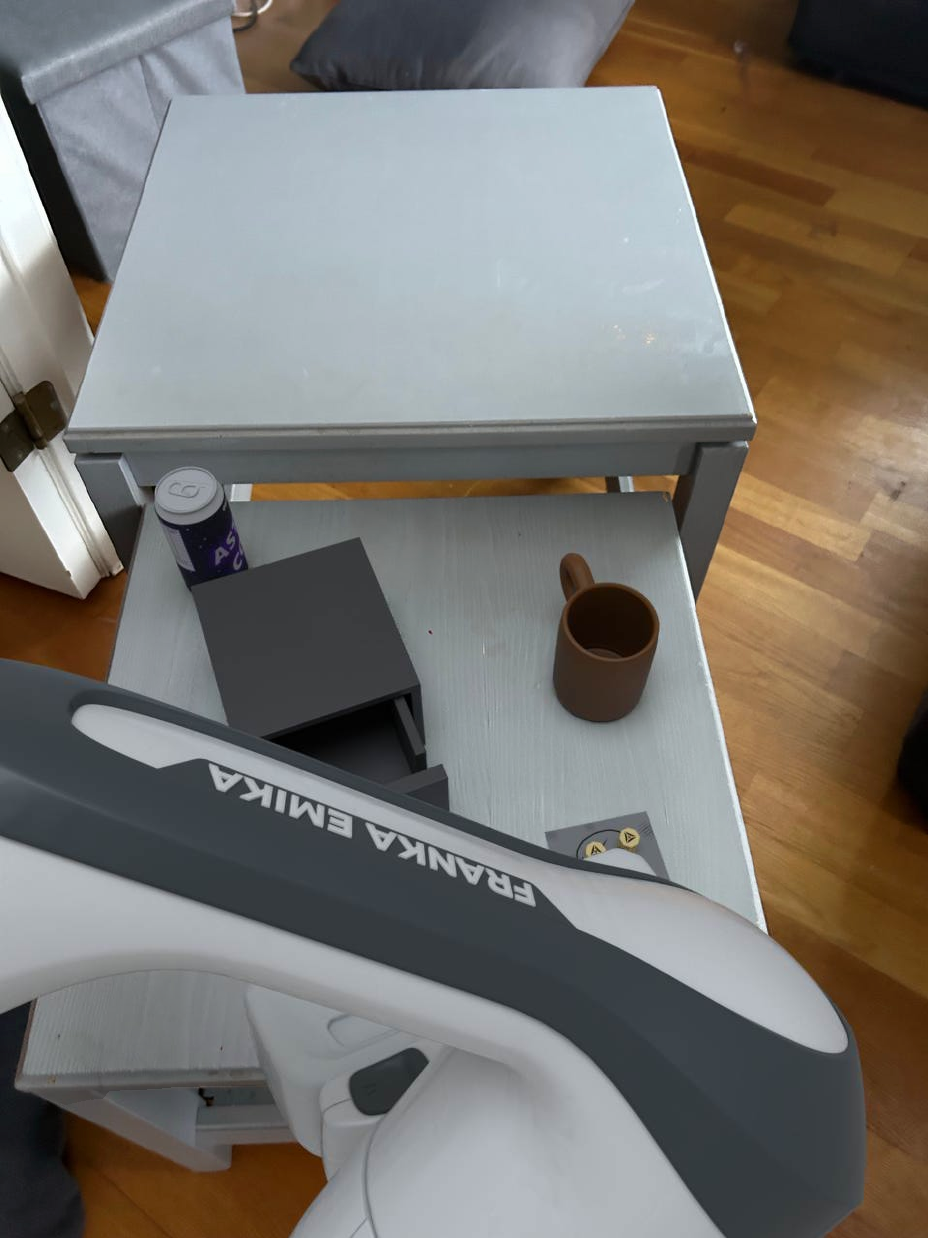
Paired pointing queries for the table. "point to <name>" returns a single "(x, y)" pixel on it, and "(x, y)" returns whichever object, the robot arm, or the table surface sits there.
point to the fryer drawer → (375, 750)
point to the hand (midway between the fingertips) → (415, 864)
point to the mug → (602, 644)
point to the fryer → (304, 642)
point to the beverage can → (198, 525)
